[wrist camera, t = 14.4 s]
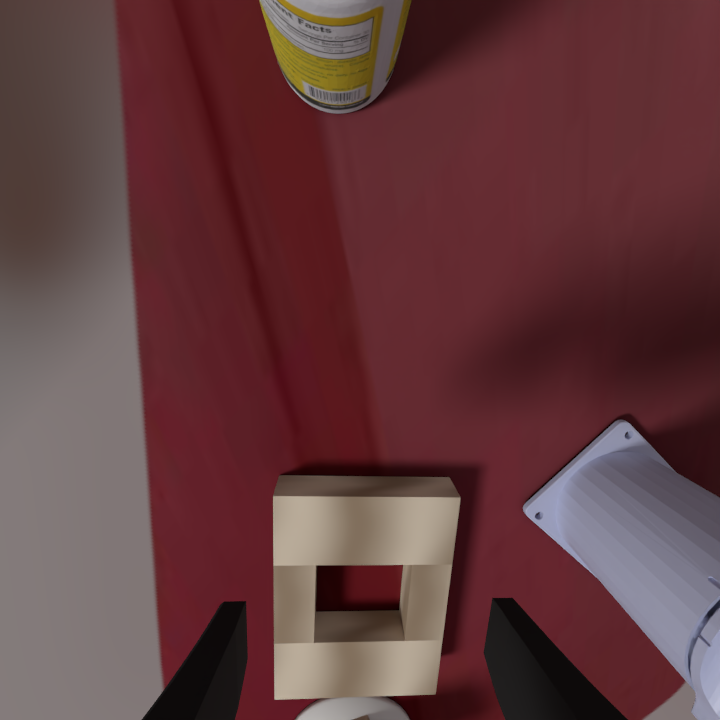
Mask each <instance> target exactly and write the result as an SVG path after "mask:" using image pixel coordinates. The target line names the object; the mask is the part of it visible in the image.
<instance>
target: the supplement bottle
mask: <svg viewBox="0 0 720 720" xmlns="http://www.w3.org/2000/svg"><path fill="white" fill-rule="evenodd" d="M259 1H260V5H261V8H262V12H263V15H264V18H265V21H266V25H267V28H268V31H269V35H270V38H271V41H272V45H273V48H274V51H275V54H276V57H277V60H278V63H279V65H280V68H281V70H282V73H283V75H284V77H285V78H286V80H287V82H288V83H289V85H290V86H291V88H292V89H293V90H294V91H295V92H296V94H297V95H298V96H299V97H300V98H301V99H302V100H304V101H305V102H306V103H308V104H309V105H311V106H312V107H314V108H317V109H319V110H321V111H324V112H328V113H338V114H340V113H349V112H353V111H356V110H359V109H361V108H363V107H365V106H366V105H368V104H369V103H371V102H372V101H373V100H374V99H375V98H376V97H377V96H378V95H379V94H380V93H381V92H382V91H383V89H384V88H385V86H386V84H387V83H388V81H389V79H390V77H391V75H392V72H393V69H394V66H395V63H396V60H397V56H398V53H399V49H400V45H401V40H402V36H403V33H404V29H405V25H406V20H407V16H408V12H409V8H410V4H411V0H259Z"/></svg>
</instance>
